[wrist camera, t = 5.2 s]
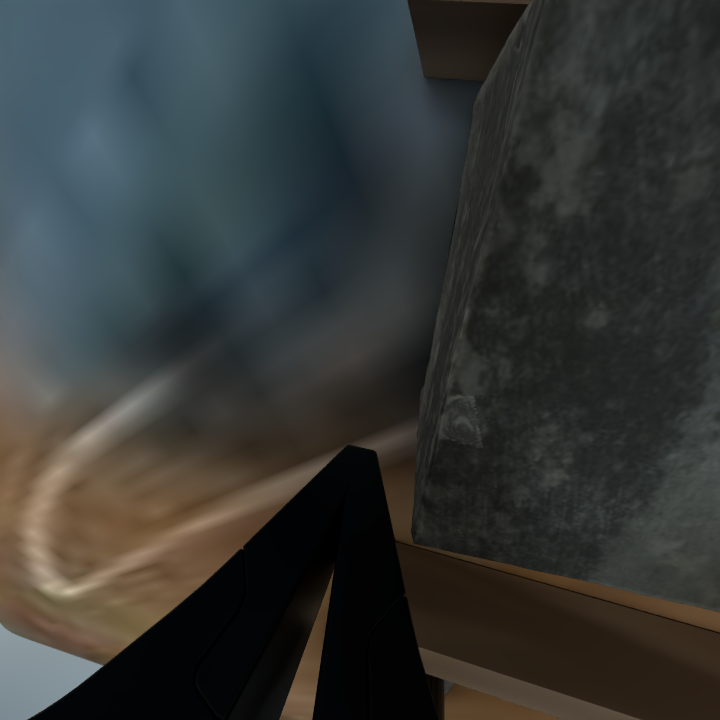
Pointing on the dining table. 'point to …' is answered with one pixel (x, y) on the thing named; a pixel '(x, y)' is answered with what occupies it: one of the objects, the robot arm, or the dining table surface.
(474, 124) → the stone block
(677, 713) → the chute
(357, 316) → the dining table surface
